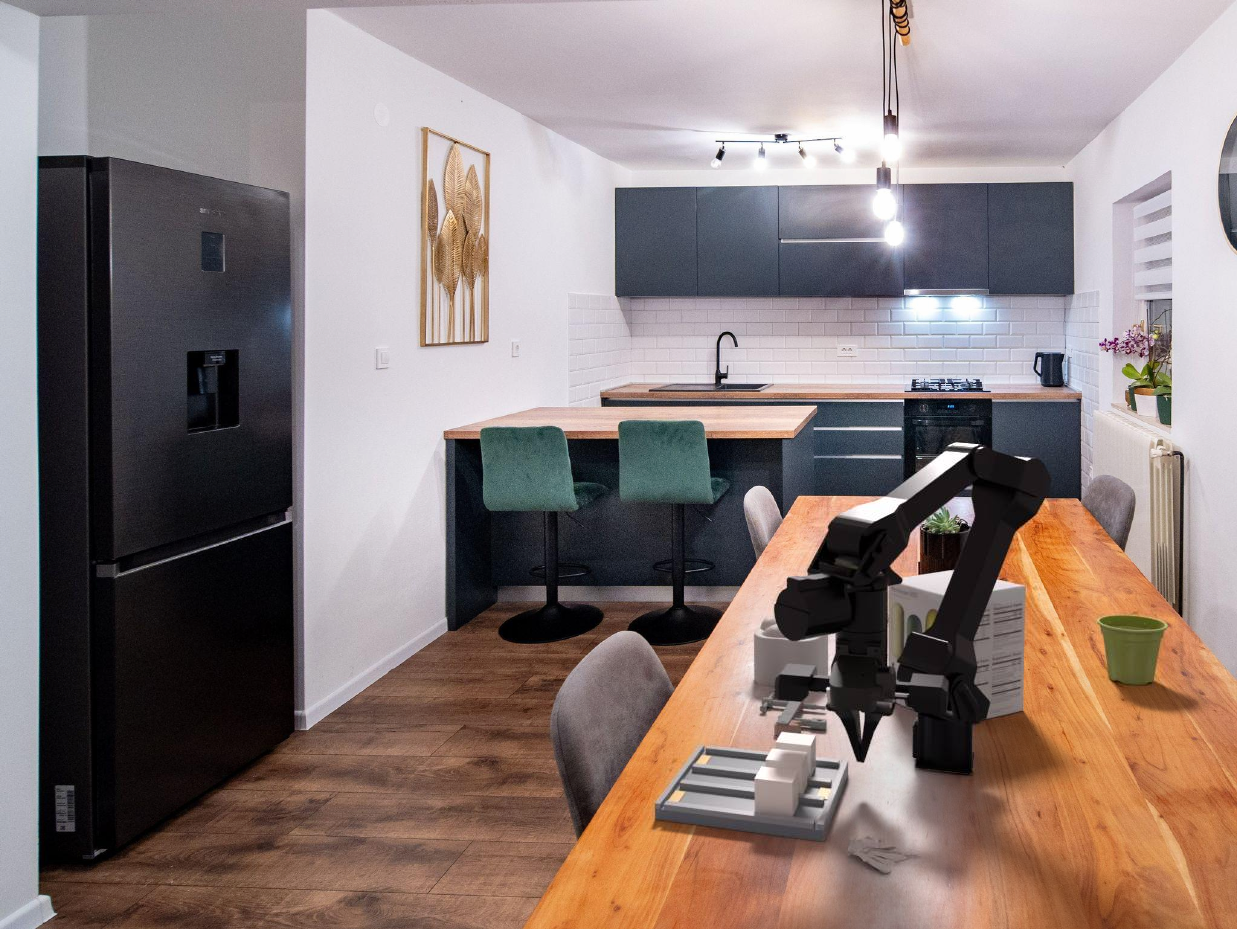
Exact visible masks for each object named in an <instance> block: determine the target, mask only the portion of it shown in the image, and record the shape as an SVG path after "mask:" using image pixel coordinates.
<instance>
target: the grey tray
mask: <svg viewBox="0 0 1237 929" xmlns="http://www.w3.org/2000/svg"><path fill="white" fill-rule="evenodd" d="M705 745H706V744H699V745H698V746H697V748H696V749H695V750H694V751H693V753H692V754H691V755H690V756H689V758H688V759H687V760H686V762H685V763H684V765H683V766H682V767H681V769H680V770H679V771H678V772H677V774H676V775H675V776H674V777H673V779H672V780H671V782H670V783H669V784H668V785H667V787H666V788H665V789H664V791H662V793H661V794H660V796H659V797H658V798H657V800H656V801H655V802H654V819H655V820H657V821H665V822H666V821H667V822H672V823H680V824H687V825H696V826H701V827H702V826H703V827H709V828H719V829H726V830H732V831H733V830H734V831H740V832H748V833H755V834H763V835H770V836H776V837H778V836H779V837H785V838H793V839H800V840H808V841H814V842H815V841H816V842H824V841H825V839H826V836H827V834H828V830H829V828H830V826H831V822H832V820H833V817H834V814H835V811H836V810H837V807H836V806H838V804H839V801H840V799H839V798H841V795H842V793H843V791H844V787H845V785H846V783H847V780H846V779H848V777H849V760H848V759H843V760H842V762H841V763H840V761H841V760H840V759H839V758H830V757H820V756H816V767H815V770H814V772H813V774H812V776H807V787H806V789H805V791H804V794H800V793H798V807H797V809H796V811H795V813H794V816H793V817H791V816H784V815H776V814H768V813H760V812H755V782H754V778H755V777H756V775H757V773H758V772H759V770H760V768H761V766H762V767H766V758H767V756H768V754H769V753H770V751H764V750H753V749H748V748H747V749H745V748H737V747H730V746H729V747H728V746H727V747H726V746H717V745H709V744H708V745H707V746H706V747H705ZM845 782H846V783H845ZM844 784H845V785H844ZM842 790H843V791H842Z"/></svg>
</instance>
